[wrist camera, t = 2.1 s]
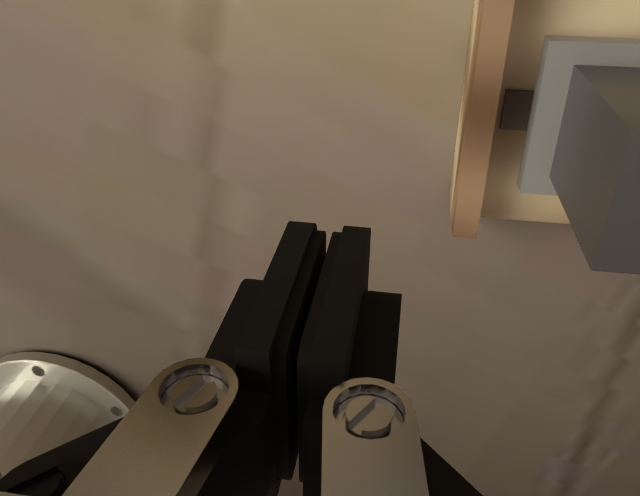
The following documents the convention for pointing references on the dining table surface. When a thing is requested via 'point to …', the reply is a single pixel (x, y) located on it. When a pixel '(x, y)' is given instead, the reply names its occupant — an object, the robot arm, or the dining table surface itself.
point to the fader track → (514, 101)
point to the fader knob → (589, 144)
